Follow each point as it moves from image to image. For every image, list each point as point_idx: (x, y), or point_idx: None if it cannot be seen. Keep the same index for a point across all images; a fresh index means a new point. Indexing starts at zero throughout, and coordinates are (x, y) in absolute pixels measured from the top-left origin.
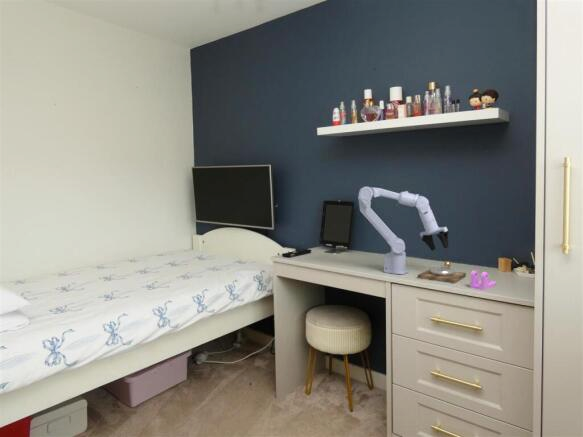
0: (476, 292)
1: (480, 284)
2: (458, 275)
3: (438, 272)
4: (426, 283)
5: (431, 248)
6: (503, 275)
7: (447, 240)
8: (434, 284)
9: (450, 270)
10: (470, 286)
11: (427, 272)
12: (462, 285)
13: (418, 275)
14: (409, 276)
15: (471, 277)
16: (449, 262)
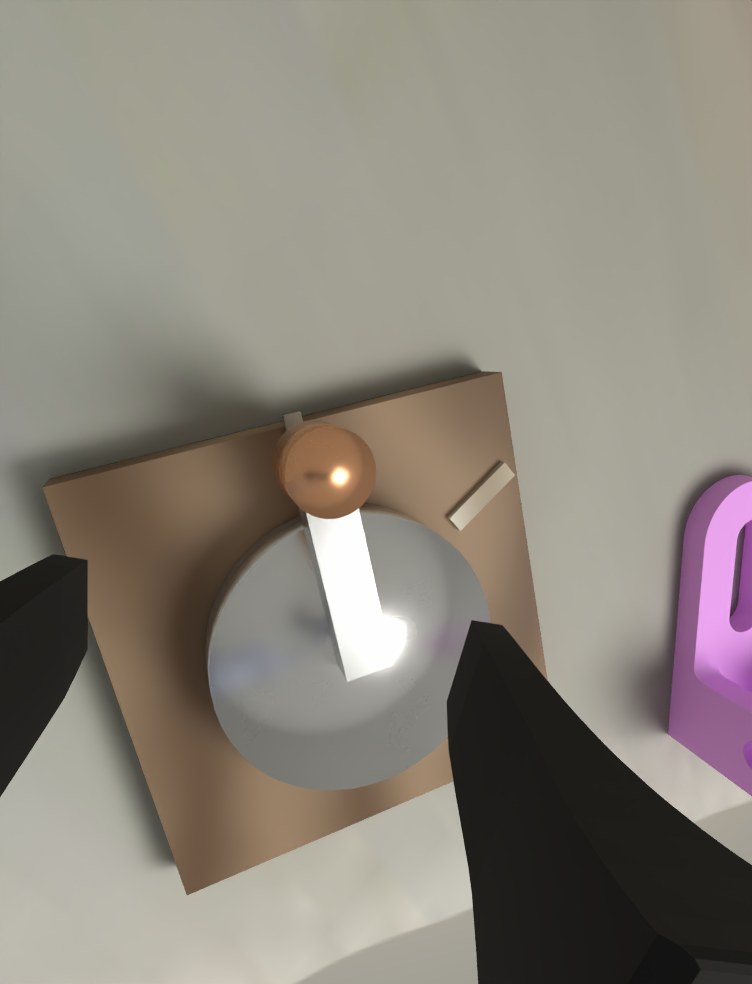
0: (735, 805)
1: (736, 679)
2: (500, 557)
3: (384, 771)
4: (373, 930)
5: (58, 704)
6: (729, 9)
7: (579, 735)
8: (438, 894)
9: (455, 626)
10: (676, 739)
11: (181, 714)
12: (605, 727)
13: (195, 887)
14: (58, 884)
15: (744, 783)
16: (373, 481)
